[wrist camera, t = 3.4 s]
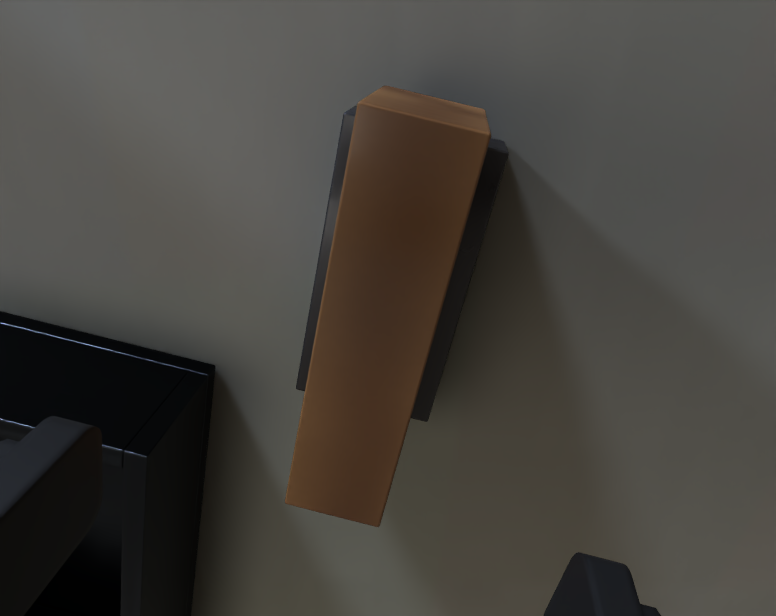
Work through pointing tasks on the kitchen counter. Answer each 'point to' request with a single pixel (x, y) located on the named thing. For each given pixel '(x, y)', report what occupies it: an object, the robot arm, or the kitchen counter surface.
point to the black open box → (118, 462)
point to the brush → (388, 290)
